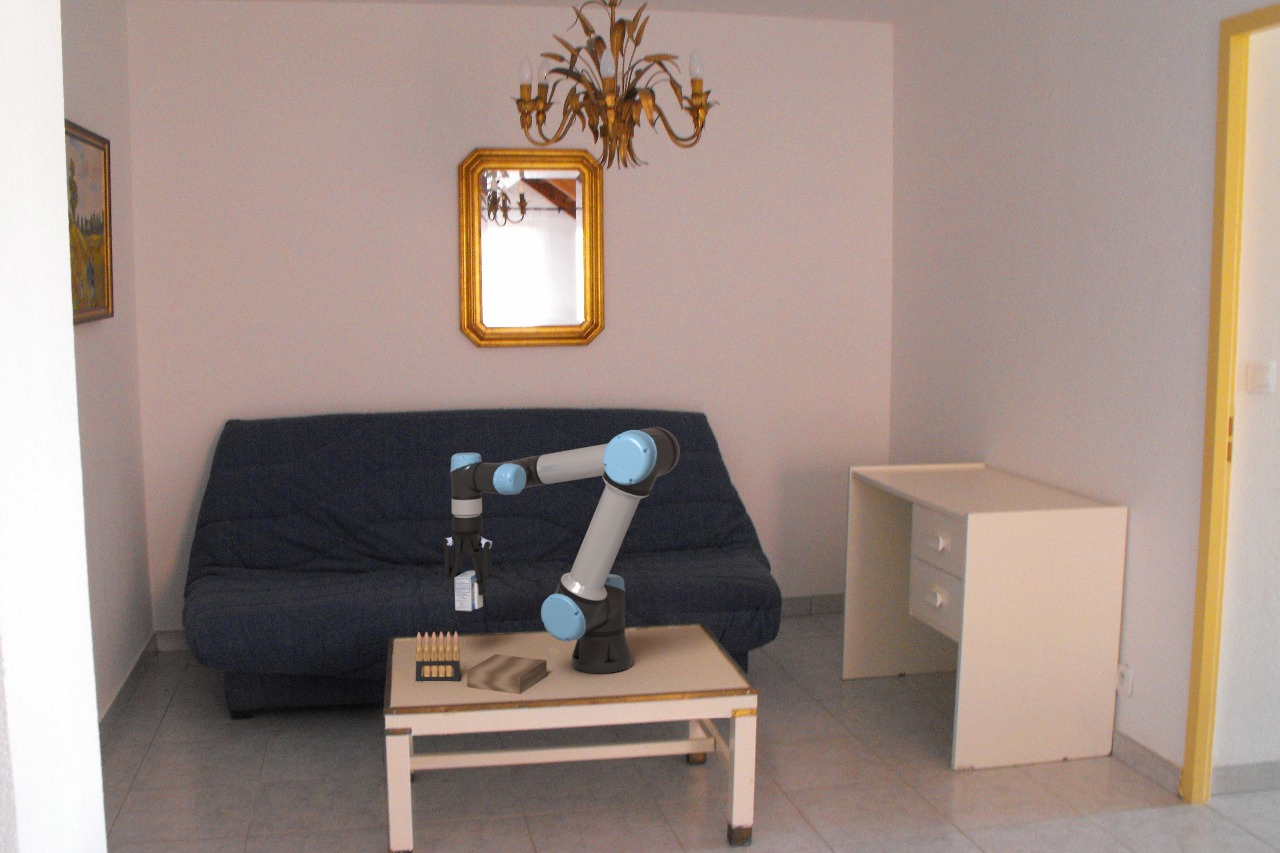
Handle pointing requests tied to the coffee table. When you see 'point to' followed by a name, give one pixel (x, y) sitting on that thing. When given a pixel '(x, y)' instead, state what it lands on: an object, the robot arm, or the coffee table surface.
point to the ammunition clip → (438, 659)
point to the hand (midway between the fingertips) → (469, 606)
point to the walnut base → (506, 673)
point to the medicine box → (465, 591)
